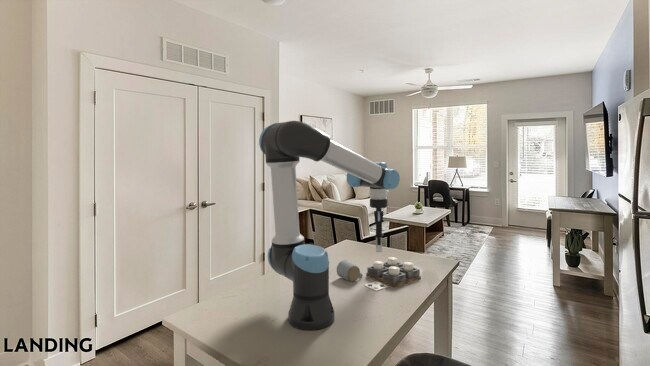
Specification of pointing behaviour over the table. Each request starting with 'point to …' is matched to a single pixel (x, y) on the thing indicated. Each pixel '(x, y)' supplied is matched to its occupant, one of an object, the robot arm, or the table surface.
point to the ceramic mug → (348, 271)
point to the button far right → (408, 266)
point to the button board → (390, 280)
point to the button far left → (392, 261)
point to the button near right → (394, 271)
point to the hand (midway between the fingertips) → (379, 251)
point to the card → (376, 286)
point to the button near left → (378, 265)
